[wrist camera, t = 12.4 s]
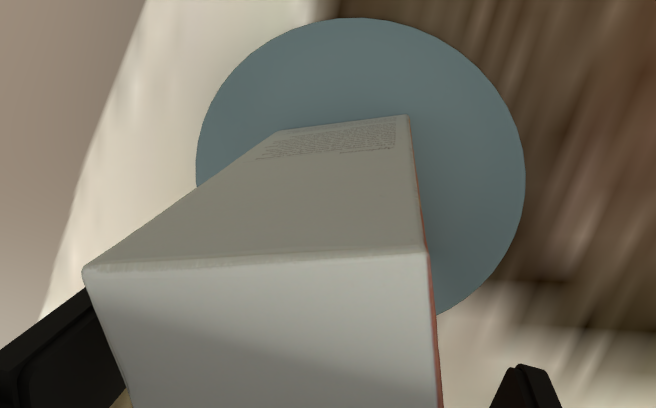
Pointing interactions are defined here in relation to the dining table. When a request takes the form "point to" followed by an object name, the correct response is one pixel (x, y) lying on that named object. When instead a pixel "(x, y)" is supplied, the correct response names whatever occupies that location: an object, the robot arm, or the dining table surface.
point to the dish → (382, 101)
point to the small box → (282, 281)
